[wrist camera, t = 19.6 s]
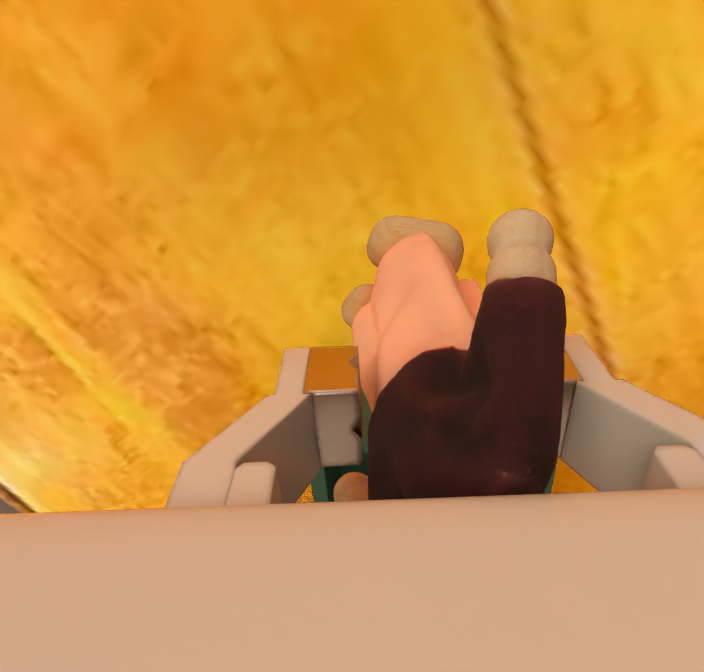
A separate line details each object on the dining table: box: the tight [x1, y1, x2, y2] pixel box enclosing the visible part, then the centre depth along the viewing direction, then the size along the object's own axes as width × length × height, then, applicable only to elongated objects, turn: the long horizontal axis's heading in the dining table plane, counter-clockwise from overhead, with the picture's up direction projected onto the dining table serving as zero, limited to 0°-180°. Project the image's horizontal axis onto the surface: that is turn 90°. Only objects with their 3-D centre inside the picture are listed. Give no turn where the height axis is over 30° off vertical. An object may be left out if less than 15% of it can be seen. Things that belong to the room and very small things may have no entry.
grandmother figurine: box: [334, 209, 566, 502], centre depth 10 cm, size 8×4×13 cm, turn 169°
